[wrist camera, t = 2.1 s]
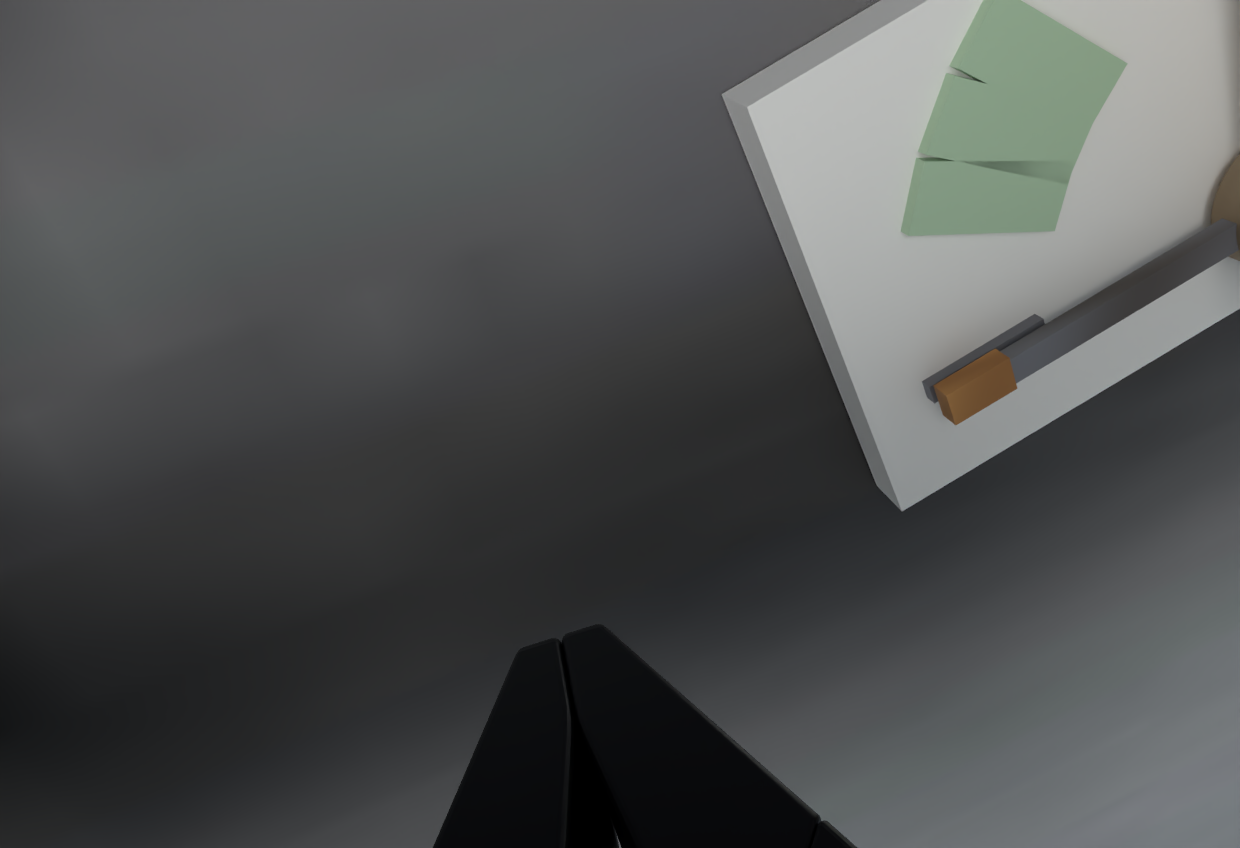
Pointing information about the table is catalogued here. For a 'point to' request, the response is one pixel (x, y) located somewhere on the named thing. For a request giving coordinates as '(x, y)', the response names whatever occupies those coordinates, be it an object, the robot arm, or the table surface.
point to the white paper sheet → (991, 200)
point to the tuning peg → (1096, 311)
